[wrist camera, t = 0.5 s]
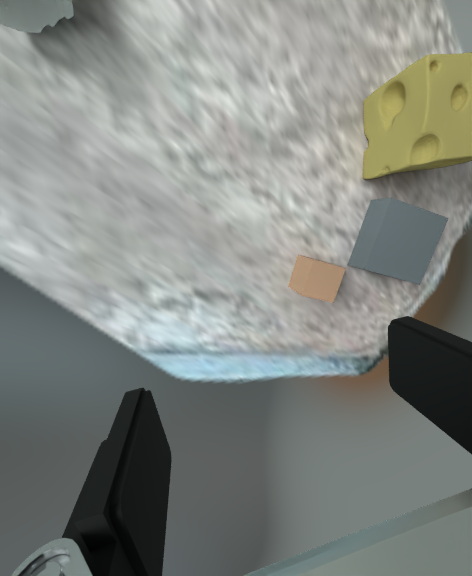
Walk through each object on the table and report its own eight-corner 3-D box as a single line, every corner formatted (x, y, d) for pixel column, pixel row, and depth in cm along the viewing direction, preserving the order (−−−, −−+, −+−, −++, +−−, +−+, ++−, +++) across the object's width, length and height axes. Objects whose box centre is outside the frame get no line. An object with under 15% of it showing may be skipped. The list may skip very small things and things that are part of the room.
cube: (297, 254, 38) (313, 259, 33) (326, 262, 39) (345, 268, 34) (287, 286, 39) (301, 295, 34) (316, 293, 40) (333, 302, 35)
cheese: (360, 181, 36) (420, 166, 27) (360, 95, 33) (427, 44, 24) (423, 172, 38) (502, 155, 28) (428, 88, 35) (518, 37, 25)
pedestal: (371, 200, 37) (391, 197, 33) (423, 218, 40) (448, 218, 36) (347, 264, 39) (364, 269, 35) (398, 278, 42) (419, 284, 38)
